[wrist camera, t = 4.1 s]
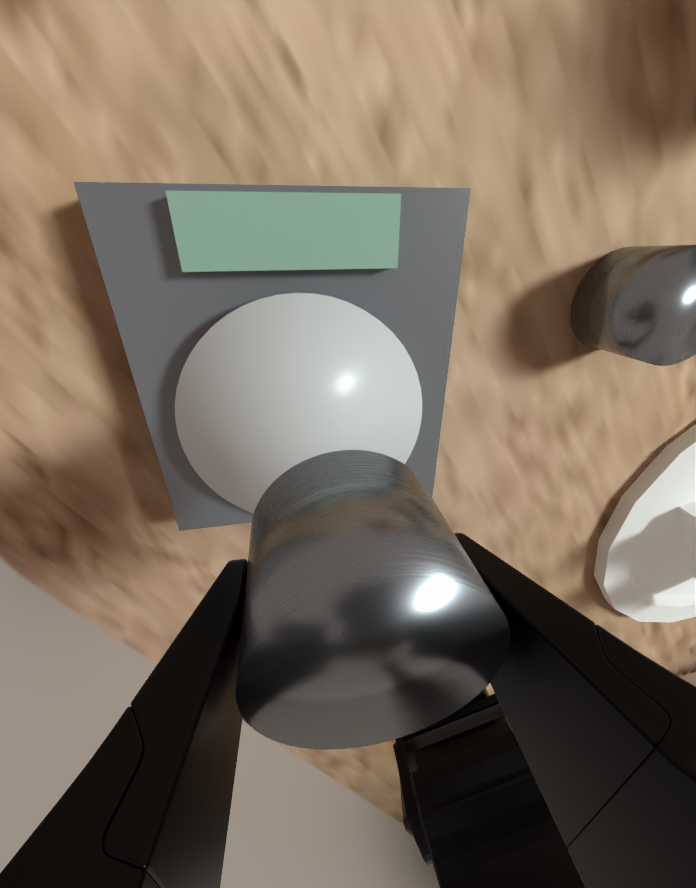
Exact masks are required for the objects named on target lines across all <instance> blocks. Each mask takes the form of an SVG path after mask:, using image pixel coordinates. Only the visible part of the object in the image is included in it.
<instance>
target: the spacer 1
mask: <svg viewBox="0 0 696 888" xmlns="http://www.w3.org/2000/svg"><path fill="white" fill-rule="evenodd" d="M509 646H510V628H509V624H508V621H507V619H506V616H505V614H504V613H503V611H502V610H501V608H500V606H499V605H498V603H497V602H496V600H495V598H494V597H493V595H492V594H491V592H490V590H489V589H488V587H487V585H486V584H485V582H484V581H483V579H482V577H481V576H480V574H479V573H478V571H477V569H476V568H475V566H474V565H473V563H472V561H471V560H470V558H469V557H468V555H467V553H466V552H465V550H464V549H463V547H462V545H461V544H460V542H459V541H458V539H457V537H456V536H455V534H454V533H453V531H452V529H451V528H450V526H449V525H448V523H447V521H446V520H445V518H444V517H443V515H442V513H441V512H440V510H439V509H438V507H437V505H436V504H435V502H434V501H433V499H432V497H431V496H430V494H429V492H428V491H427V489H426V488H425V486H424V484H423V483H422V482H421V480H420V479H419V477H418V476H417V475H416V474H415V473H414V472H413V471H412V470H411V469H410V468H409V467H407V466H406V465H405V464H403V463H402V462H400V461H398V460H396V459H394V458H392V457H390V456H387V455H384V454H381V453H377V452H372V451H365V450H341V451H334V452H329V453H325V454H321V455H317V456H315V457H312V458H309V459H307V460H304V461H303V462H301V463H299V464H297V465H295V466H293V467H292V468H290V469H289V470H287V471H286V472H284V473H283V474H282V475H280V476H279V477H278V478H277V479H276V480H275V481H274V482H273V483H272V484H271V485H270V486H269V487H268V488H267V490H266V491H265V492H264V494H263V495H262V497H261V498H260V500H259V502H258V504H257V506H256V509H255V511H254V515H253V519H252V527H251V537H250V547H249V557H248V568H247V578H246V588H245V599H244V609H243V619H242V630H241V640H240V650H239V661H238V671H237V681H236V692H235V695H236V702H237V706H238V709H239V711H240V713H241V715H242V717H243V718H244V719H245V721H246V722H247V723H248V724H249V725H250V726H251V727H252V728H253V729H254V730H256V731H257V732H259V733H260V734H262V735H264V736H265V737H268V738H270V739H272V740H274V741H277V742H280V743H283V744H286V745H290V746H296V747H301V748H310V749H346V748H355V747H362V746H368V745H373V744H378V743H382V742H386V741H390V740H393V739H396V738H400V737H403V736H406V735H408V734H411V733H414V732H417V731H419V730H421V729H424V728H426V727H428V726H430V725H432V724H434V723H436V722H438V721H440V720H442V719H444V718H446V717H447V716H449V715H451V714H452V713H454V712H456V711H457V710H459V709H460V708H462V707H463V706H464V705H466V704H467V703H469V702H470V701H471V700H472V699H473V698H475V697H476V696H477V695H478V694H479V693H480V692H481V691H482V690H483V689H484V688H485V687H486V686H487V685H488V684H489V683H490V682H491V681H492V679H493V678H494V677H495V676H496V674H497V673H498V671H499V670H500V668H501V667H502V665H503V663H504V661H505V658H506V656H507V653H508V650H509Z"/></svg>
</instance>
